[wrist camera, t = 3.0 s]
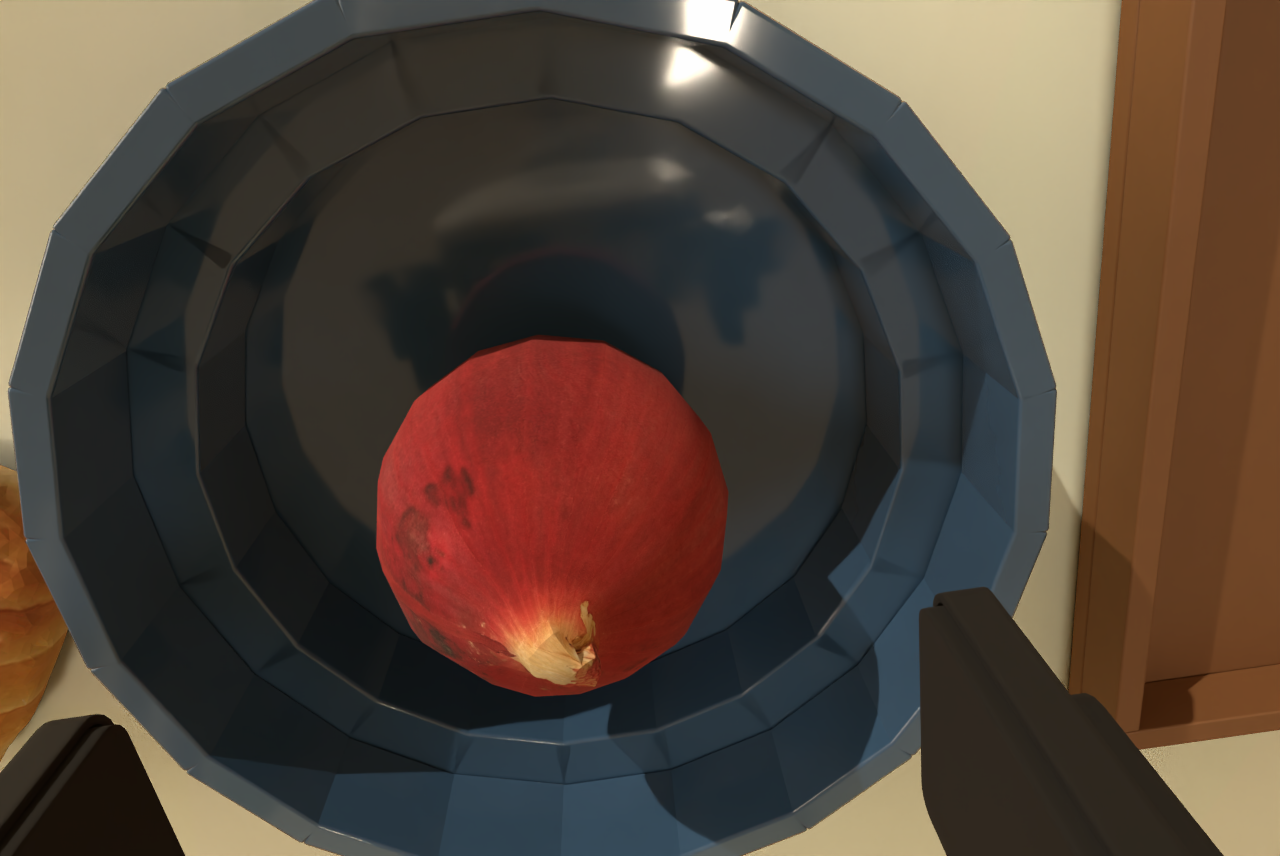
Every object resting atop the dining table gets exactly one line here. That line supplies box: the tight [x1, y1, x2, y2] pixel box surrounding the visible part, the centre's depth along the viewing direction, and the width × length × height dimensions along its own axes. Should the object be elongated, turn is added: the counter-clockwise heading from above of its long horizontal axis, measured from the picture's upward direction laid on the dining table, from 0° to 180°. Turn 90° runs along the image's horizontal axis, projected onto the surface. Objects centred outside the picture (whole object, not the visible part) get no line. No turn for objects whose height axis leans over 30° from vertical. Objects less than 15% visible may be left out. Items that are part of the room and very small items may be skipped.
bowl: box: [8, 0, 1057, 856], centre depth 16 cm, size 16×16×5 cm
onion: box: [376, 335, 728, 697], centre depth 14 cm, size 6×6×8 cm
